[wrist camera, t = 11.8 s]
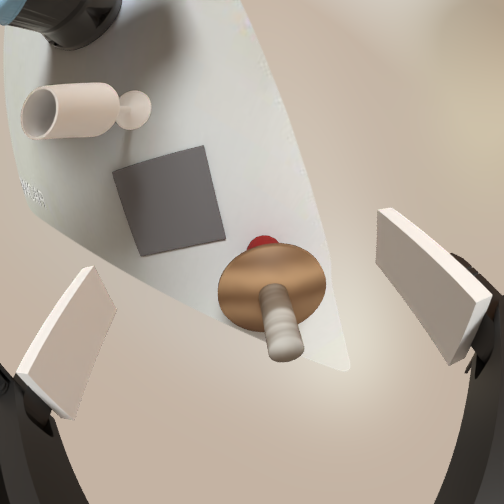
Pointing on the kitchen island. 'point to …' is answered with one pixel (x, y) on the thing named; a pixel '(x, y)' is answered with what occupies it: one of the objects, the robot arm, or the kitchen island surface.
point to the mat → (170, 201)
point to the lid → (273, 294)
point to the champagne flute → (81, 110)
